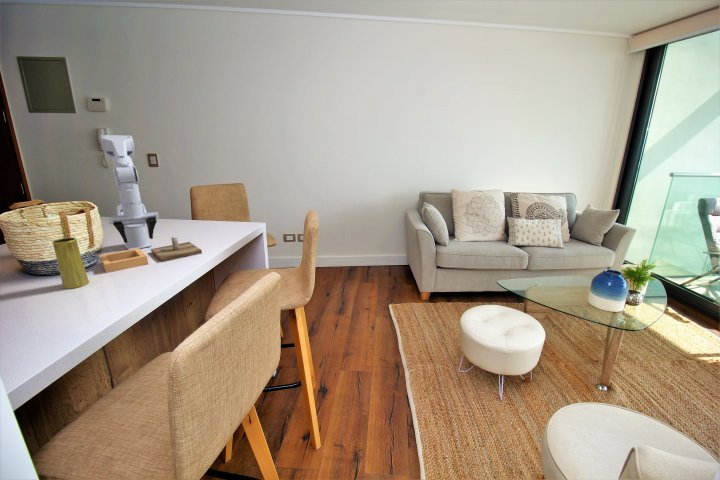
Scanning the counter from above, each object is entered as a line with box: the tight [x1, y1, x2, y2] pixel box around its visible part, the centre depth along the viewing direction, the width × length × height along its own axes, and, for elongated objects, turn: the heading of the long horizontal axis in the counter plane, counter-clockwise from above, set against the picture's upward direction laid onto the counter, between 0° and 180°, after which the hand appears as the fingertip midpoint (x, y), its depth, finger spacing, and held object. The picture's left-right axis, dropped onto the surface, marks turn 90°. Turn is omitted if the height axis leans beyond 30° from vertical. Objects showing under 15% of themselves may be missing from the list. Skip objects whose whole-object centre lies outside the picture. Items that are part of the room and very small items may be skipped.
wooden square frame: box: [98, 248, 149, 274], centre depth 113 cm, size 12×12×3 cm
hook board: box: [150, 236, 203, 263], centre depth 124 cm, size 14×14×6 cm
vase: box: [52, 237, 90, 290], centre depth 95 cm, size 6×6×14 cm
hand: (138, 240), depth 114 cm, fingers open, 7 cm apart
